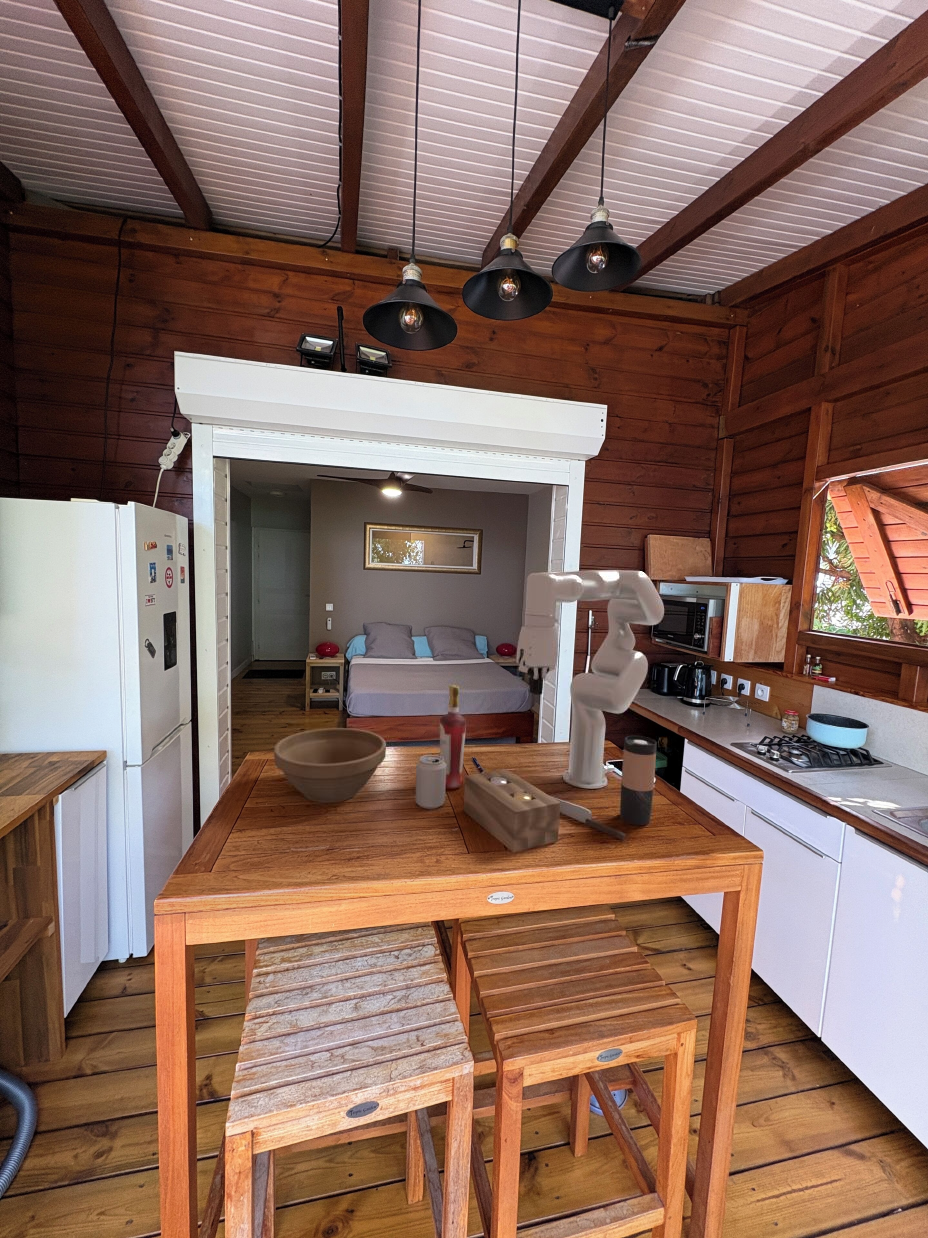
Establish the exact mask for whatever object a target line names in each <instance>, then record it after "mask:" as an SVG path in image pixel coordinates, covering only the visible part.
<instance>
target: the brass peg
mask: <svg viewBox="0 0 928 1238" xmlns="http://www.w3.org/2000/svg"><path fill="white" fill-rule="evenodd" d="M514 799H516V800H517V801H519V802H524V801H529V800H531V795H530V794H528V793H524V792H518V793H515V794H514Z"/></svg>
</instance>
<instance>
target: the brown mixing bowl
mask: <svg viewBox="0 0 928 1238" xmlns="http://www.w3.org/2000/svg"><path fill="white" fill-rule="evenodd" d="M273 749H274V750H273V759H274V764H275V766H276V768H277V769H278V770H280V771H281V772H282V773H283V775H284V776H285V778H286V779H287V780H288V782H290V784H291V785H292V786H293V787H294V788H295V789H296V790H298V791H299V792H300V793H301V794H302V795H303V797H305V798H306V799H308V800H310V801H312V802H315V803H325V804H327V803H338V802H343V801H346V800H349V799H350V798H353V797H354V796H355V795H357V794H358V792H360V790H361V789H362V788H363V787H364V786H365V785H366V784H367V783H368V782H369V781H370V780H371V778H372V776H373V775H375V772H376V771H377V768H378V767H379V766H380V765H381V764H382V763H383V762H384V761H385V759H386V751H387V742H386V740H385V739H384V738H383V737H382V736H381V735H379V734H377V733H374V732H371V731H367V730H363V729H356V728H347V727H346V728H344V727H343V728H342V727H336V728H335V727H331V728H320V729H319V728H317V729H312V730H306V731H302V732H301V731H300V732H298V733H294V734H291V735H289V736H288V735H287V737H284V738H282V739H281V740H279V741H278V742H277V743H276V744H275V746H274V748H273Z"/></svg>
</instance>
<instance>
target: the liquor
mask: <svg viewBox="0 0 928 1238" xmlns="http://www.w3.org/2000/svg"><path fill="white" fill-rule="evenodd" d="M448 690H449V702H448V710H447V713H446V714H443V716H440V718H439V749H440V752H439V756H441V757H443V758H444V762H445V764H446V784H445V790H456V789H458V788H460V787H461V786H462V784H463V782H464V781H463V779H462V776H463V764H464V762H463V761H464V753H465V752H464V751H465V742H466V741H465V740H466V730H467V718H466V717H464V716H463V715H462V714H460V712H459V711H460V710H459V696H460V686H458V685H449V689H448Z"/></svg>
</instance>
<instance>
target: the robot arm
mask: <svg viewBox="0 0 928 1238" xmlns="http://www.w3.org/2000/svg"><path fill="white" fill-rule="evenodd" d="M525 596H526V597H525V612H524V613H525V616H524V626H521V629H520V632H519V637H518V642H517V649H516V657H515V659H516V664H517V665H519V666H518V671H519V672H522V673H526V674H527V676H528V678H529V692H530V693H531V694H533V695H535V696H537V695H542V694H543V689H544V680H545V679H546V677H547V675H548V673H549V672H551V671H555V670H556V665H557V663H558V656H559V655H558V652H559V651H558V650H559V648H558V647H559V644H558V643H559V642H558V632H557V631H558V630H557V628H556V623H557V624H558V621H559V620H558V617H556V609H557V603H566V604H567V603H569V604H570V603H574V602H576V601H584V602H585V601H586V602H588V601H589V602H590V601H591V602H593V601H595V602H596V601H604V600H609V602H608V603H607V618H608V633H607V635H606V637H605V639H604V641H603V642H602V643H601V646H600V647H599V649H598V650H597V651H596V653H595V655H594V656H593V657H592V660H591V663H590V664H591V665H590V666H591V671H592V672H593V673H591V672H582V673H579V674H577V675H575V676H574V677H573V678H572V680H571V683H570V687H569V694H570V701H571V727H570V729H571V731H570V745H569V759H568V760H569V762H568V770H565V771H564V772H563V774H562V779H563V781H564V782H566V784H569V785H571V786H574V787H576V788H580V789H591V790H593V789H597V790H598V789H601V788H604V787H606V786H607V785H608V778H607V776H606V774H607V773H610V772H611V773H612V772H614V771H615V767H614V765H613V764H609V765H605V764H604V752H605V751H604V750H605V737H606V735H605V734H606V719H605V716H604V714H603V711H604V712H608V713H612V714H622V713H624V712H625V711H627V710H628V708H629V707H630V706H631V704H632V702H633V701H634V699H635V698H636V696H637V694H638V692H639V690H640V688H641V687H642V685H643V683H644V681H645V680H646V677H647V675H648V670H649V669H648V667H649V663H648V659H647V656H646V655H645V654H643V653H642V651H638V650H634V647H635V645H636V638H635V635H634V633H633V631H632V629H631V627H630V624H636V625H644V626H654V625H658V624H659V623H661V621H662V620H663V618H664V614H665V608H664V607H665V606H664V602H663V600H662V598H661V597H660V594H659V592H658V591H657V588H656V586H655V585H654V582H652V580H651V578H650V577H649V576H648V575H647V574H646V573H645V572H643V571H640V570H622V569H603V570H602V569H601V570H599V569H598V570H595V569H594V570H591V569H590V570H577V571H552V572H551V571H547V572H542V571H541V572H531V573H530V574H529V575H528V576H527V578H526V594H525Z"/></svg>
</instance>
